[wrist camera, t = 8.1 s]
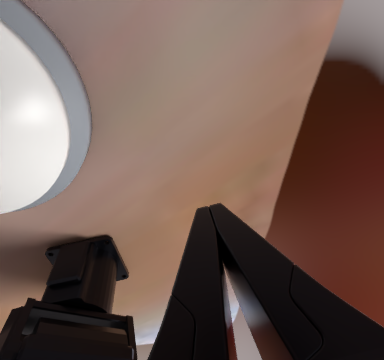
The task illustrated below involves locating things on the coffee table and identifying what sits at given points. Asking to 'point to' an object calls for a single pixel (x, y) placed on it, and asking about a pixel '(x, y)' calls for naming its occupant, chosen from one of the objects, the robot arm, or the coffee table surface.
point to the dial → (28, 124)
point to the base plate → (66, 81)
